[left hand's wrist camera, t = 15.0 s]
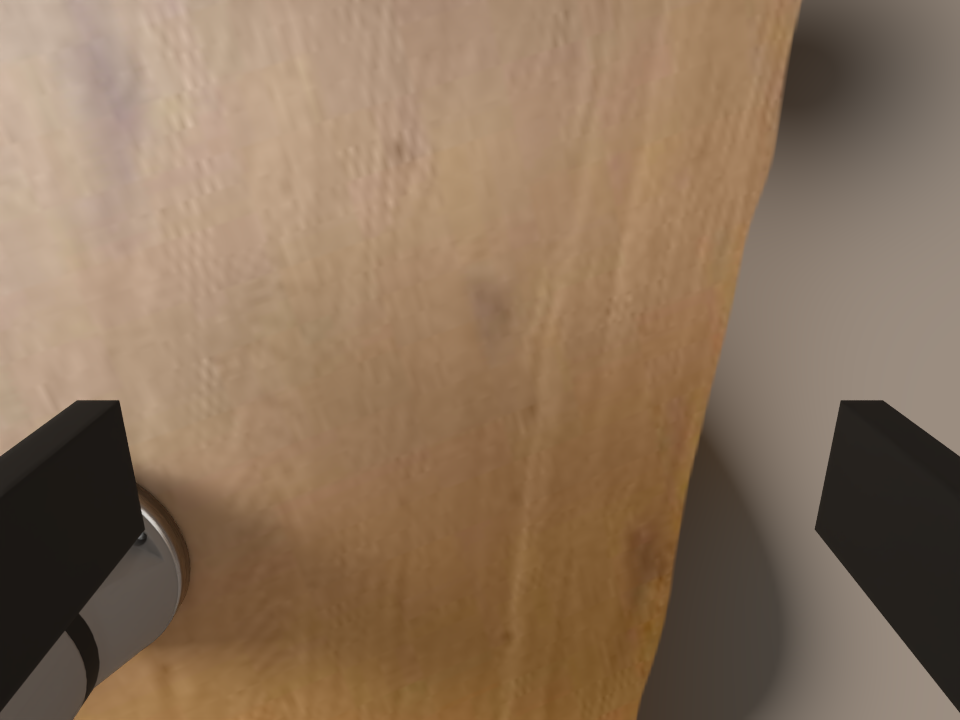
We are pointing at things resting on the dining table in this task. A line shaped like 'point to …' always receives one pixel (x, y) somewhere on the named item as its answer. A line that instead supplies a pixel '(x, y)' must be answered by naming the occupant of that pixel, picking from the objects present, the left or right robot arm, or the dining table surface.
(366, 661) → the dining table surface
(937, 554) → the left robot arm
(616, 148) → the dining table surface
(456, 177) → the dining table surface
